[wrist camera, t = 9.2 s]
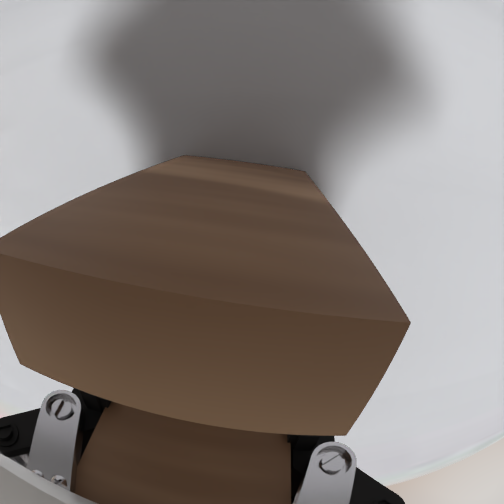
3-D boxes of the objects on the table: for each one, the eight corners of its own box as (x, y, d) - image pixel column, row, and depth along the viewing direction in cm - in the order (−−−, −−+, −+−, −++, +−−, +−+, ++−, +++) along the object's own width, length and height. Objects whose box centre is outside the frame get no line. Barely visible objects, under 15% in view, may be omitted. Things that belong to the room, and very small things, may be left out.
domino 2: (276, 348, 13) (271, 578, 4) (167, 330, 13) (82, 538, 4) (285, 313, 12) (289, 577, 3) (166, 294, 12) (53, 522, 3)
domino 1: (296, 217, 13) (345, 435, 3) (180, 201, 13) (20, 363, 3) (304, 171, 12) (410, 323, 3) (183, 155, 12) (-18, 248, 3)
